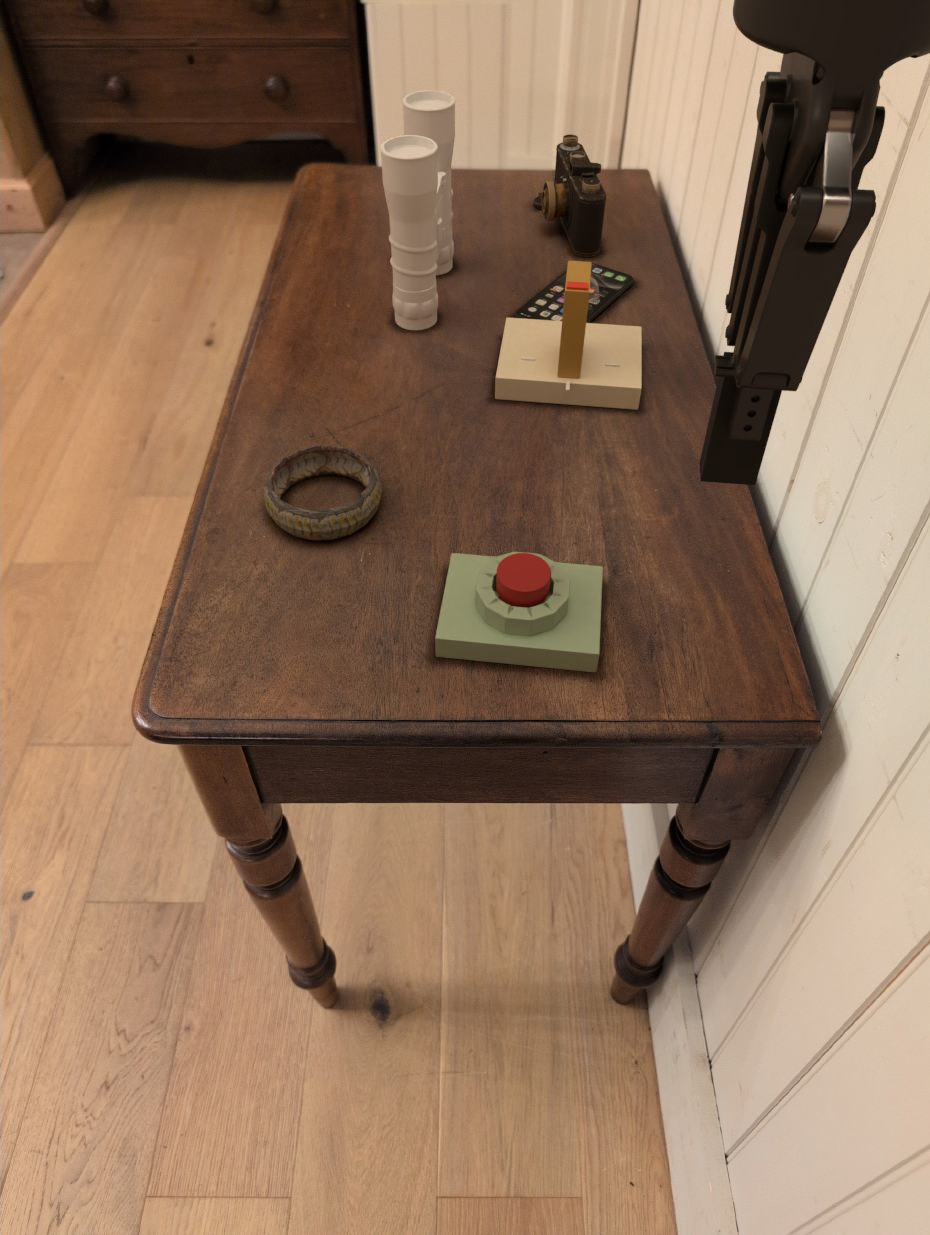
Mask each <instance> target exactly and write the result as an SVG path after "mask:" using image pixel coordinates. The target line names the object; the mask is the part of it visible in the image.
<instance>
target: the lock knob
mask: <svg viewBox="0 0 930 1235" xmlns="http://www.w3.org/2000/svg"><path fill="white" fill-rule="evenodd" d="M584 261H585V260H567V267H566V271H567V275H566V284H565V294H564V305H563V317H562V328H561V339H560V351H559V362H558V373H557V377H568V378H580V374H581V365H582V356H583V347H584V338H585V329H586V320H587V311H588V302H589V293H590V279H591V266H592V263H593V262H592V261H588V262H584Z"/></svg>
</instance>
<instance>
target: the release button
mask: <svg viewBox="0 0 930 1235" xmlns="http://www.w3.org/2000/svg"><path fill="white" fill-rule="evenodd" d="M529 553H530V552H526V553H516V554H512V555H510V556H507V557H506V558H504V559H503V560H502V561H501V562H500V563H499V565H498V567H497V576H496V590H497V593H498V595H499V596H500V598H501V599H502V600H503V601H504V602H506V603H508V604H510V605H512V606H516V607H532V606H535V605H538V604H540V603H541V602H543V601H544V600H545V599H546V598H547V596H548V594H549V591H550V582H551V569H550V567H549V565H548V564H547V562H546V561H545V560H543V559H542V558H540V557H539V556H536V555H533V554H529Z"/></svg>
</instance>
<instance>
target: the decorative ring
mask: <svg viewBox="0 0 930 1235" xmlns="http://www.w3.org/2000/svg"><path fill="white" fill-rule="evenodd" d="M320 476H338V477H344V478H349V479H352V480H354V481H355V482H358V483H359V484H362V485H363V487H365V489H364V490H363V491H362V492H361V493H360V494H359V496H358V497H355V498H354V499H352V500H351V501H349V502H347V503H345V504H342V505H339V506H336V507H332V508H328V509H306V508H300V507H295V506H292V505H291V504H289V503H287V502H286V501H283V500H281V498H282V496H283V495H284V494H285V493H286V492H288V490H289V489H290V488H292V487H293V486H295V485H297V484H298V483H301V482H302V481H304V480H308V479H311V478H316V477H320ZM382 494H383V486H382V482H381V478H380V476H379V472H378V470H377V469H376V468H375V466H374V465H373V464H372V463H371V462H370V461H369V460H368V459H367V458H366V457H365V455H363V454H361V453H360V452H357V451H356V450H353V449H351V448H349V447H345V446H339V445H333V444H331V445H327V444H326V445H313V446H309V447H304V448H301V449H297V450H295V451H293V452H291V453H290V454H287V455H286V456H284V457H282V458H281V459H280V460H279V461H278V462H276V463H275V465H274V466H273V467H271V469H270V471H269V474H268V476H267V479H266V481H265V483H264V486H263V500H264V507H265V509H266V511H267V513H268V515H269V516H270V517H271V519H272V520H273V521H274V523H275V524H276V525H277V526H278V527H279V528H280V529H281V530H283V531H284V532H287V533H288V534H290V535H292V536H294V537H295V538H299V539H304V540H308V541H333V540H336V539H340V538H342V537H347V536H350V535H353V533H355V532H357V531H359V530H361V529H362V528H364V527H365V526H366V525H367V524H368V523H369V522H370V520H371V519H372V518H373V517H374V516H375V514H376V513H377V511H378V510H379V506H380V503H381V499H382Z"/></svg>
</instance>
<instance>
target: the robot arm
mask: <svg viewBox="0 0 930 1235" xmlns="http://www.w3.org/2000/svg"><path fill="white" fill-rule="evenodd" d="M732 17H733V22H734V25H735V26H736V28H737V29H738V31H739V32H740V33H741V35H743V37H745V38H746V39H748V40H749V41H750V42H752V43H754V44H755V45H758V46H760V47H762V48H765V49H767V50H770V51H772V52H776V53H779V54H782V58H781V65H780V70H779V71H766V73H765V74H764V79H763V80H762V81H761V82H760V86H759V97H758V102H757V107H756V120H757V128H756V135H755V141H754V147H753V152H752V157H751V158H752V159H751V163H750V170H749V175H748V181H747V186H746V193H745V198H744V203H743V209H742V216H741V221H740V225H739V226H740V228H739V233H738V238H737V244H736V249H735V255H734V262H733V266H732V273H731V276H730V278H731V279H730V283H729V289H728V293H727V294H726V296H725V302H724V305H725V310H726V314H730V318H729V323H728V324H727V326H726V327H725V333H724V338H725V339H726V346H728V347H733V351H723V355H719V354H717V355H716V354H715V355H714V363H713V377H717V383H716V388H715V392H714V396H713V399H712V400H713V401H712V404H711V410H710V414H709V418H708V423H707V427H706V432H705V437H704V440H703V444H702V445H703V446H702V450H701V454H700V459H699V477H700V482H703V483H717V484H731V485H746V486H756V483H757V480H758V477H759V473H760V471H761V466H762V463H763V459H764V455H765V452H766V449H767V446H768V442H769V438H770V434H771V431H772V428H773V424H774V421H775V417H776V413H777V410H778V406H779V404H780V400H781V397H782V393H783V392H797V391H798V389H799V388H800V384H801V383H802V381H803V378H804V375H805V371H806V369H807V366H808V364H809V362H810V359H811V357H812V354H813V352H814V349H815V346H816V344H817V341H818V339H819V337H820V334H821V331H822V328H823V326H824V324H825V321H826V319H827V317H828V313H829V310H830V309H831V306H832V303H833V301H834V298H835V296H836V293H837V291H838V288H839V286H840V283H841V281H842V278H843V275H844V273H845V270H846V269H847V268H846V267H847V265H848V263H849V261H850V258H851V255H852V253H853V251H854V250H855V248H856V246H857V245H858V243H859V242H860V240H861V238H862V236H863V235H864V233H865V232H866V230H867V229H868V227H869V224H870V223H871V221H872V218H874V215H875V213H876V210H877V201H876V200H877V197H876V196H877V195H876V192H875V189H862V188H861V189H859V186H860V184H861V183H860V182H861V179H862V176H863V173H864V169H865V168H866V166H867V165H868V164H869V163H870V162H871V161H872V160H873V159H874V157H875V155H876V154H877V150H878V147H879V143H880V140H881V137H882V133H883V129H884V126H885V120H886V107H885V106H883V105H878V101H879V96H880V91H881V82H880V81H881V79H882V78H883V77H884V74H885V71H887V70H888V69H889V68H890V67H892V66H894V65H895V64H897V63H899V62H900V61H902V60H905V59H908V58H912V59H917V58H921V57H923V56H926V55H929V54H930V0H733V5H732Z"/></svg>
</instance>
